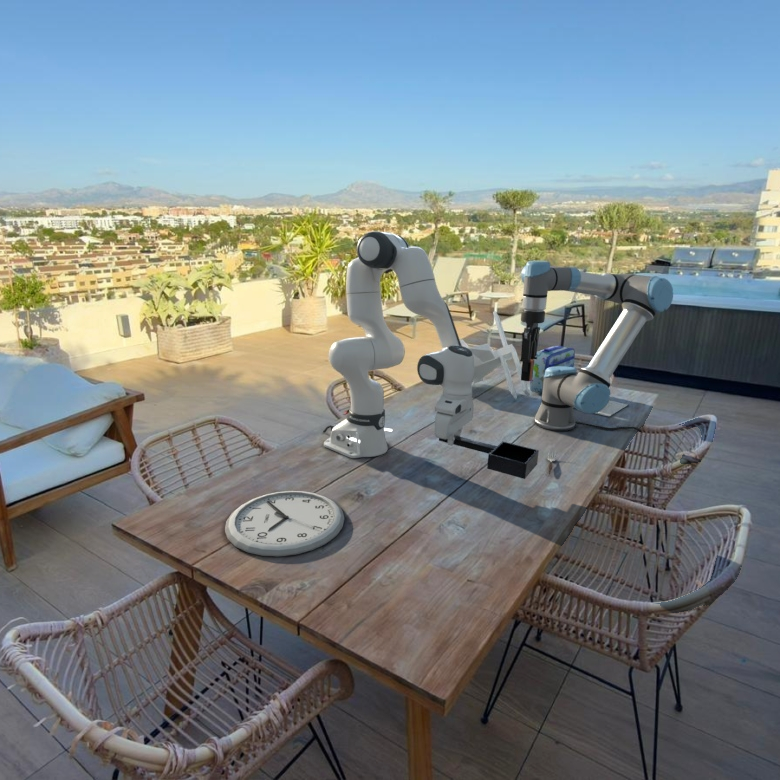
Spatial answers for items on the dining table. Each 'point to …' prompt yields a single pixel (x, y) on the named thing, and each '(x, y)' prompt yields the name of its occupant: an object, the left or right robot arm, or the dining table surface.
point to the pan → (503, 456)
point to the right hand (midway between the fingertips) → (526, 379)
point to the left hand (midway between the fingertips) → (453, 442)
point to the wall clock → (284, 523)
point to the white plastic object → (496, 359)
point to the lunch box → (550, 364)
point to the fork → (551, 460)
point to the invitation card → (611, 408)
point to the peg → (531, 369)
